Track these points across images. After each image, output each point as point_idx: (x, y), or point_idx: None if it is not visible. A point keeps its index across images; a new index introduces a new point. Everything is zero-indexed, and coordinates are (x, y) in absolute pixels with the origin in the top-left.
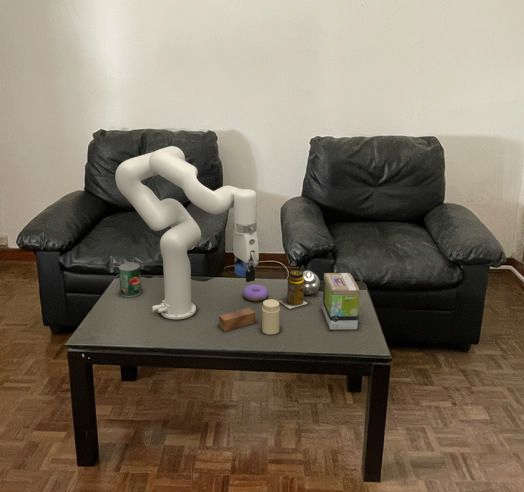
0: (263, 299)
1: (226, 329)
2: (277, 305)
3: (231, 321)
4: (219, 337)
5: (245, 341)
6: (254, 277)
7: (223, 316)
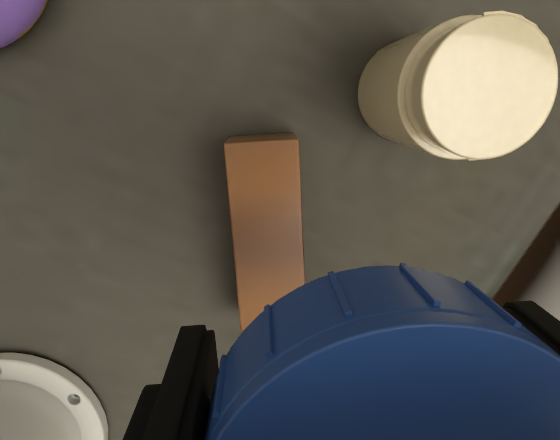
0: None
1: None
2: (555, 58)
3: None
4: None
5: (432, 257)
6: (557, 327)
7: None
